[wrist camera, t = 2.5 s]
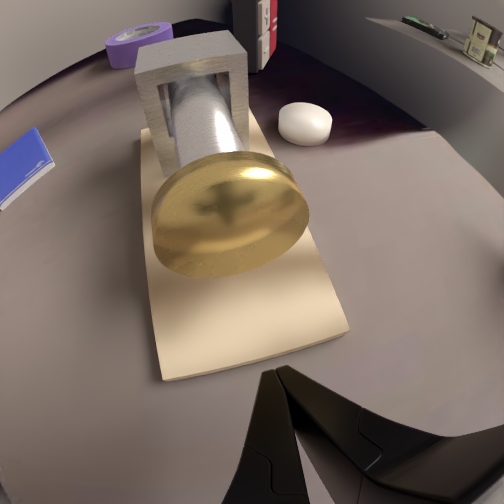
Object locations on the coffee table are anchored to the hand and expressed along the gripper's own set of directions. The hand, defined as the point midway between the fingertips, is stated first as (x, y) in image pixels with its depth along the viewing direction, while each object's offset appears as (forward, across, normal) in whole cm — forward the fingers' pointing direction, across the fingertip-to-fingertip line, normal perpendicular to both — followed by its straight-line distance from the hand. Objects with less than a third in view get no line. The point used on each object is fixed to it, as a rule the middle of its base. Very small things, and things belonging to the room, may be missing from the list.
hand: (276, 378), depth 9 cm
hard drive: (+26, +23, -14) cm, 38 cm away
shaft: (+13, 0, -8) cm, 15 cm away
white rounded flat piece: (+20, -10, -9) cm, 25 cm away
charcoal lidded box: (+34, -11, -23) cm, 42 cm away
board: (+15, 0, -4) cm, 16 cm away
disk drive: (+59, -78, -47) cm, 108 cm away
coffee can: (+45, -83, -33) cm, 100 cm away
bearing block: (+19, 0, -9) cm, 21 cm away
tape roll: (+43, +6, -32) cm, 54 cm away
